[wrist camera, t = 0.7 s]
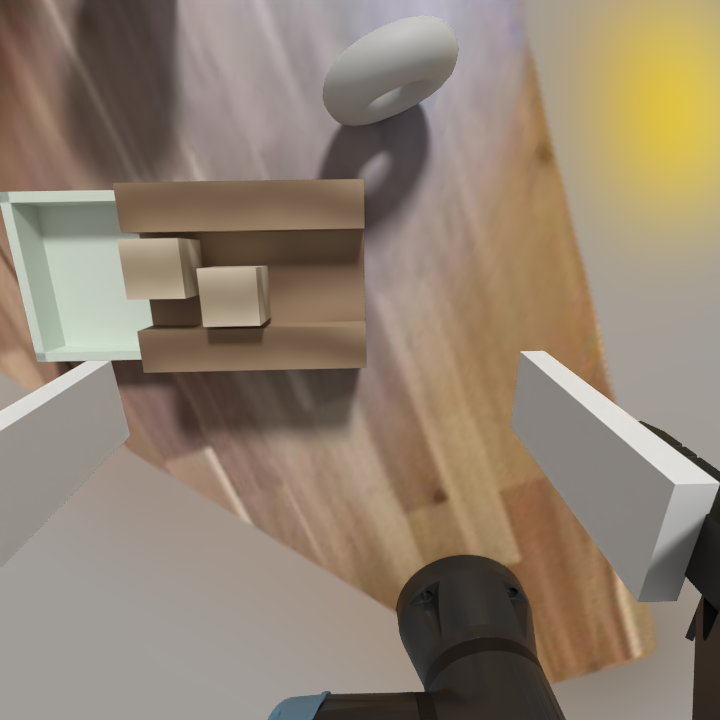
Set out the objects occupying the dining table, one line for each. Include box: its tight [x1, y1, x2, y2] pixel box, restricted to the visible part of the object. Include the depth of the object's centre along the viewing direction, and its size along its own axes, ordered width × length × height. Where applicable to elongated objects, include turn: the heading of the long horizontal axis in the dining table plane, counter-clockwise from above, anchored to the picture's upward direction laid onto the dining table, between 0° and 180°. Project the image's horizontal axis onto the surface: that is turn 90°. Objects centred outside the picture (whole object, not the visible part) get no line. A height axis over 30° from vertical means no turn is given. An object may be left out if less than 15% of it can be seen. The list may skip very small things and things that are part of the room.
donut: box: [323, 15, 459, 126], centre depth 29 cm, size 10×4×10 cm, turn 110°
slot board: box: [113, 179, 367, 373], centre depth 33 cm, size 14×17×8 cm
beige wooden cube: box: [196, 266, 271, 327], centre depth 30 cm, size 4×4×4 cm
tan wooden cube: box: [117, 238, 203, 300], centre depth 29 cm, size 4×4×4 cm
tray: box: [0, 190, 153, 362], centre depth 35 cm, size 14×12×3 cm
